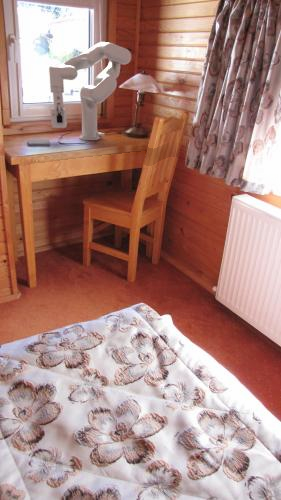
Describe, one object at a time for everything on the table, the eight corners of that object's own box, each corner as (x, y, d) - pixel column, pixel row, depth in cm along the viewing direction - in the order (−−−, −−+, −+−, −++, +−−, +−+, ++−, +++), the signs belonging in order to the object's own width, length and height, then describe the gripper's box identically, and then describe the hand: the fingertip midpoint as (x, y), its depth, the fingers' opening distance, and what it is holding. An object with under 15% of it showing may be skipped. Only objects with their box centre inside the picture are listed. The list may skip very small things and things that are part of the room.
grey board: (48, 141, 238) (48, 139, 238) (50, 146, 228) (50, 143, 227) (28, 141, 235) (27, 139, 235) (28, 146, 225) (28, 143, 224)
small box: (67, 126, 240) (66, 108, 235) (64, 128, 235) (63, 109, 230) (54, 125, 240) (53, 107, 235) (51, 127, 235) (50, 108, 230)
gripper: (65, 91, 221) (67, 124, 229) (62, 87, 236) (64, 118, 244) (51, 91, 219) (53, 124, 228) (49, 87, 234) (51, 118, 242)
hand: (59, 121), depth 236 cm, fingers closed on small box, 7 cm apart
